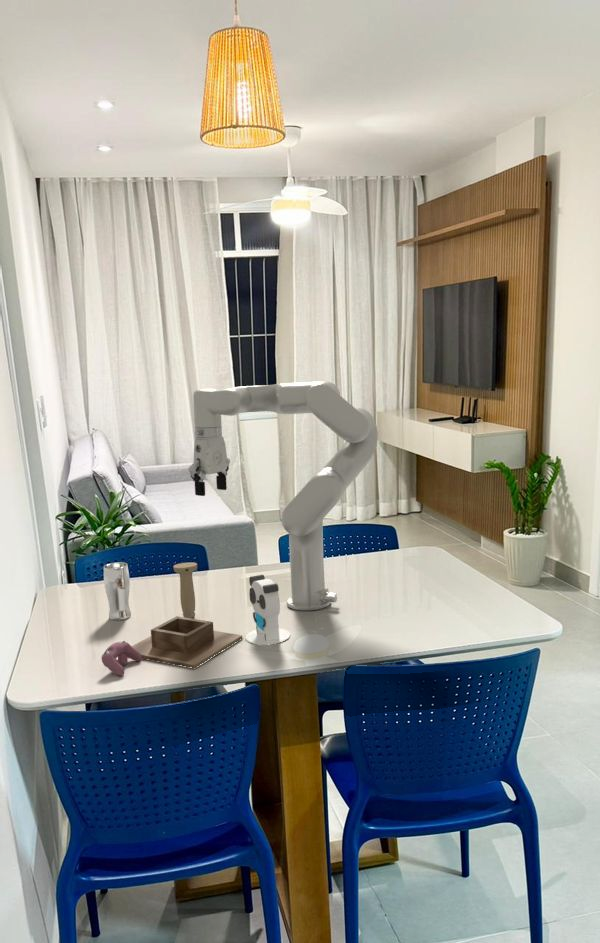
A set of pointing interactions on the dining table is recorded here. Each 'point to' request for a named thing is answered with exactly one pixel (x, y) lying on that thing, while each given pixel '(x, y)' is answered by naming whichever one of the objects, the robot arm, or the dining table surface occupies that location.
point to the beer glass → (117, 590)
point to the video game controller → (119, 656)
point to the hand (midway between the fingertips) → (211, 492)
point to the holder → (184, 642)
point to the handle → (186, 588)
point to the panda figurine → (265, 612)
